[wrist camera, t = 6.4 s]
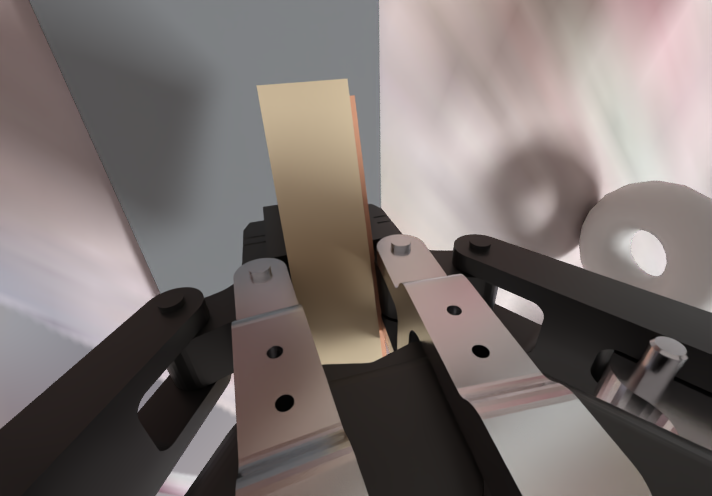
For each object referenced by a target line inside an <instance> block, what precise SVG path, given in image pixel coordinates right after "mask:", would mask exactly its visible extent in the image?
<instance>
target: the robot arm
mask: <svg viewBox="0 0 712 496" xmlns="http://www.w3.org/2000/svg"><path fill="white" fill-rule="evenodd" d="M368 208H369V216H370V224H371V232H372V240H373V249H374V257H375V260H374V263H375V271H376V279H377V287H378V295H379V302H380V308H381V314H380V316H381V326H382V332H383V335H384V338H385V341H386V344H387V346H388V349H389V352H390V354H388V355H386V356H384V357H382V358H380V359H378V360H376V361H374V362H370V363H350V364H323V365H322V364H321V361H320V358H319V355H318V352H317V349H316V346H315V343H314V340H313V337H312V334H311V331H310V328H309V325H308V322H307V319H306V316H305V313H304V310H303V307H302V305H301V304H298V301H297V298H296V295H295V292H294V288H293V285H292V280H291V274H290V269H289V263H288V258H287V252H286V247H285V241H284V236H283V230H282V225H281V219H280V214H279V208H278V205H271V206H264V207H263V215H264V220H263V221H257V222H250V223H249V224H248V225H247V227H246V228H245V229H244V230H243V253H242V266H241V267H239V268H238V269H237V270H236V272H235V273H234V276H233V281H234V284H233V285H231V286H230V287H228V288H226V289H225V290H223V291H220V292H218V293H215V294H213V295H210V296H208V297H205V298H204V296H203V293H202V292H201V291H200V290H199V289H196V288H192V287H181V288H175V289H171V290H168V291H166V292H163V293H161V294H159V295H157V296H155V297H154V298H152V299H151V300H150V301H148V302H147V303H146V304H145V305H144V306H143V307H141V308H140V309H139V310H138V311H137V312H136V313H134V314H133V315H132V316H131V317H130V318H129V319H128V320H126V321H125V322H124V323H123V324H122V325H121V326H119V327H118V328H117V329H116V330H115V331H114V332H112V333H111V334H110V335H109V336H108V337H107V338H105V339H104V340H103V341H102V342H101V343H100V344H99V345H97V346H96V347H95V348H94V349H93V350H92V351H90V352H89V353H88V354H87V355H86V356H85V357H84V358H82V359H81V360H80V361H79V362H78V363H77V364H75V365H74V366H73V367H72V368H71V369H70V370H68V371H67V372H66V373H65V374H64V375H63V376H61V377H60V378H59V379H58V380H57V381H56V382H55V383H53V384H52V385H51V386H50V387H49V388H48V389H46V390H45V391H44V392H43V393H42V394H41V395H39V396H38V397H37V398H36V399H35V400H34V401H32V403H30V404H29V405H28V406H27V407H25V408H24V409H23V410H22V411H21V412H20V413H18V414H17V415H16V416H15V417H14V418H13V419H12V420H10V421H9V422H8V423H7V424H6V425H5V426H4V427H2V428H1V429H0V496H155V495H156V494H157V492H158V491H159V489H160V488H161V486H162V485H163V483H164V482H165V480H166V479H167V477H168V476H169V474H170V473H171V471H172V469H173V468H174V466H175V465H176V463H177V462H178V460H179V459H180V457H181V456H182V454H183V453H184V451H185V450H186V448H187V447H188V445H189V444H190V442H191V441H192V439H193V437H194V436H195V434H196V433H197V431H198V430H199V428H200V427H201V425H202V424H203V422H204V421H205V419H206V418H207V416H208V415H209V413H210V411H211V410H212V408H213V407H214V405H215V404H216V402H217V401H218V399H219V398H220V396H221V395H222V393H223V392H224V390H225V389H226V387H227V386H228V384H229V382H230V379H231V374H232V373H234V385H235V403H236V422H237V423H236V424H235V425H234V426H233V428H232V429H231V430H230V431H229V433H228V434H227V435H226V437H225V439H224V440H223V441H222V443H221V444H220V446H219V447H218V448H217V450H216V451H215V453H214V454H213V456H212V457H211V458H210V460H209V461H208V463H207V464H206V465H205V467H204V468H203V470H202V471H201V473H200V474H199V475H198V477H197V478H196V480H195V481H194V483H193V484H192V485H191V487H190V488H189V490H188V491H187V493H186V494H185V495H184V496H712V313H711V312H708V311H705V310H702V309H699V308H697V307H694V306H691V305H688V304H685V303H682V302H679V301H676V300H673V299H670V298H667V297H664V296H661V295H659V294H656V293H653V292H650V291H647V290H644V289H641V288H638V287H635V286H632V285H629V284H626V283H624V282H621V281H618V280H615V279H612V278H609V277H606V276H603V275H600V274H597V273H594V272H591V271H589V270H586V269H583V268H580V267H577V266H574V265H571V264H568V263H565V262H562V261H559V260H556V259H553V258H551V257H548V256H545V255H542V254H539V253H536V252H533V251H530V250H527V249H524V248H521V247H518V246H516V245H513V244H510V243H507V242H504V241H501V240H498V239H495V238H492V237H489V236H485V235H476V234H473V235H465V236H462V237H459V238H458V239H456V241H455V242H454V248H453V251H434V250H429V249H428V248H427V247H426V245H425V244H424V243H423V241H421V240H420V239H418V238H416V237H414V236H410V235H403V234H402V233H401V232H400V231H399V230H398V228H397V227H396V226H395V225H394V223H393V222H391V220H390V218H389V217H388V216H387V215H386V213H385V212H384V211H383V210H382V209H381V208H379V207H377V206H375V205H373V204H368ZM498 287H500V288H502V289H504V290H507V291H509V292H511V293H513V294H516V295H518V296H520V297H523V298H525V299H527V300H530V301H532V302H534V303H535V304H537V305H538V306H539V307H540V308H541V310H542V311H543V314H544V320H543V323H542V325H540V324H537V323H535V322H533V321H531V320H529V319H527V318H524V317H522V316H520V315H518V314H516V313H514V312H512V311H510V310H507V309H505V308H503V307H501V306H499V305H497V304H495V299H496V295H497V290H498ZM166 369H167V370H168V372H169V374H170V375H169V376H168V377H167V379H166V380H165V381H164V382H163V383H162V385H161V386H160V387H159V388H158V389H157V390H156V392H155V393H154V394H153V395H152V397H151V398H150V399H149V400H148V401H147V402H146V403H145V405H144V406H143V407H142V408H141V409H140V411H139V412H138V413H137V411H138V406H139V403H140V401H141V399H142V397H143V396H144V394H145V393H146V392H147V391H148V389H149V388H150V387H151V386H152V385H153V384H154V383H155V381H156V380H157V379H158V378H159V377H160V376H161V375H162V373H163V372H164V371H165V370H166Z"/></svg>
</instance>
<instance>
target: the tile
mask: <svg viewBox="0 0 712 496" xmlns="http://www.w3.org/2000/svg"><path fill="white" fill-rule="evenodd" d="M256 86H257V91H258V97H259V103H260V108H261V114H262V120H263V125H264V131H265V137H266V142H267V148H268V153H269V159H270V164H271V170H272V175H273V181H274V186H275V192H276V197H277V203H278V208H279V214H280V219H281V225H282V230H283V236H284V241H285V247H286V252H287V258H288V263H289V269H290V274H291V280H292V285H293V288H294V292H295V295H296V298H297V301H298V304H301V305H302V307H303V310H304V313H305V316H306V319H307V322H308V325H309V328H310V331H311V334H312V337H313V340H314V343H315V346H316V349H317V352H318V355H319V358H320V361H321V364H322V365H323V364H350V363H370V362H374V361H376V360H378V359H380V358H382V357H384V356H386V355H387V354H386V346H385V338H384V335H383V332H382V326H381V316H380V314H381V308H380V302H379V295H378V287H377V279H376V271H375V263H374V260H375V257H374V249H373V240H372V232H371V224H370V216H369V208H368V200H367V192H366V184H365V175H364V167H363V159H362V151H361V143H360V135H359V127H358V118H357V110H356V102H355V95H353V96H350V95H349V87H348V79H335V80H322V81H309V82H296V83H283V84H270V85H256Z"/></svg>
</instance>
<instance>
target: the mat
mask: <svg viewBox="0 0 712 496" xmlns="http://www.w3.org/2000/svg"><path fill="white" fill-rule="evenodd" d="M29 1H30V4H31V6H32V8H33V10H34V13H35V15H36V17H37V19H38V21H39V24H40V26H41V28H42V30H43V33H44V35H45V37H46V39H47V42H48V44H49V46H50V48H51V50H52V53H53V55H54V57H55V59H56V62H57V64H58V66H59V68H60V71H61V73H62V75H63V77H64V79H65V82H66V84H67V86H68V88H69V91H70V93H71V95H72V97H73V100H74V102H75V104H76V106H77V108H78V111H79V113H80V115H81V117H82V120H83V122H84V124H85V126H86V129H87V131H88V133H89V135H90V137H91V140H92V142H93V144H94V146H95V149H96V151H97V153H98V155H99V158H100V160H101V162H102V164H103V166H104V169H105V171H106V173H107V175H108V178H109V180H110V182H111V184H112V187H113V189H114V191H115V193H116V195H117V198H118V200H119V202H120V204H121V207H122V209H123V211H124V213H125V215H126V218H127V220H128V222H129V224H130V227H131V229H132V231H133V233H134V236H135V238H136V240H137V242H138V244H139V247H140V249H141V251H142V253H143V256H144V258H145V260H146V262H147V265H148V267H149V269H150V271H151V273H152V276H153V278H154V280H155V282H156V285H157V287H158V289H159V291H160V294H161V293H163V292H166V291H168V290H171V289H175V288H181V287H192V288H196V289H199V290H200V291H201V292H202V293H203V296H204V298H205V297H208V296H210V295H213V294H215V293H218V292H220V291H223V290H225V289H226V288H228V287H230V286H231V285H233V284H234V281H233V276H234V273H235V272H236V270H237V269H238V268H239V267H241V266H242V253H243V230H244V229H245V228H246V227H247V225H248V224H249V223H250V222H257V221H263V220H264V215H263V207H264V206H271V205H278V203H277V197H276V192H275V186H274V181H273V175H272V170H271V164H270V159H269V153H268V148H267V142H266V137H265V131H264V125H263V120H262V114H261V108H260V103H259V97H258V91H257V86H256V85H270V84H283V83H296V82H309V81H322V80H335V79H348V87H349V95H350V96H353V95H355V102H356V110H357V118H358V127H359V135H360V143H361V151H362V159H363V167H364V175H365V184H366V192H367V200H368V204H373V205H375V206H377V207H379V208H381V174H380V76H379V0H29Z"/></svg>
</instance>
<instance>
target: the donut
mask: <svg viewBox="0 0 712 496" xmlns="http://www.w3.org/2000/svg"><path fill="white" fill-rule="evenodd" d="M640 230H644V231H648V232H650V233H651V234H653V235H654V236H655V237H656V238H657V239H658V240H659V241H660V242H661V244H662V245H663V248H664V250H665V253H666V260H667V264H666V267H665V271H664V272H663V273H662V275H660V276H652V275H650V274H647V273H646V272H645V271H644V270H642V269H641V268H640V267H639V266H638V264H637V263H636V262H635V260H634V257H633V255H632V250H631V243H632V239H633V236H634V235H635V233H637V232H638V231H640ZM579 249H580V259H581V263H582V265H583V268H584V269H586V270H589V271H591V272H594V273H597V274H600V275H603V276H606V277H609V278H612V279H615V280H618V281H621V282H624V283H626V284H629V285H632V286H635V287H638V288H641V289H644V290H647V291H650V292H653V293H656V294H659V295H661V296H664V297H667V298H670V299H673V300H676V301H679V302H682V303H685V304H688V305H691V306H694V307H697V308H699V309H702V310H705V311H708V312H711V313H712V199H711V198H709V197H707V196H705V195H703V194H701V193H699V192H697V191H695V190H693V189H691V188H689V187H687V186H685V185H680V184H674V183H668V182H663V181H648V182H640V183H632V184H628V185H626V186H623V187H621V188H619V189H617V190H615V191H613V192H611V193H608V194H606V195H605V196H604V197H603V198H602V199H601V200H600V201H599V202H598V203H597V204H596V205H595V206H594V207H593V208H592V209H591V210H590V211H589V213H588V215H587V217H586V219H585V221H584V223H583V225H582V229H581V234H580V240H579Z"/></svg>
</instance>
